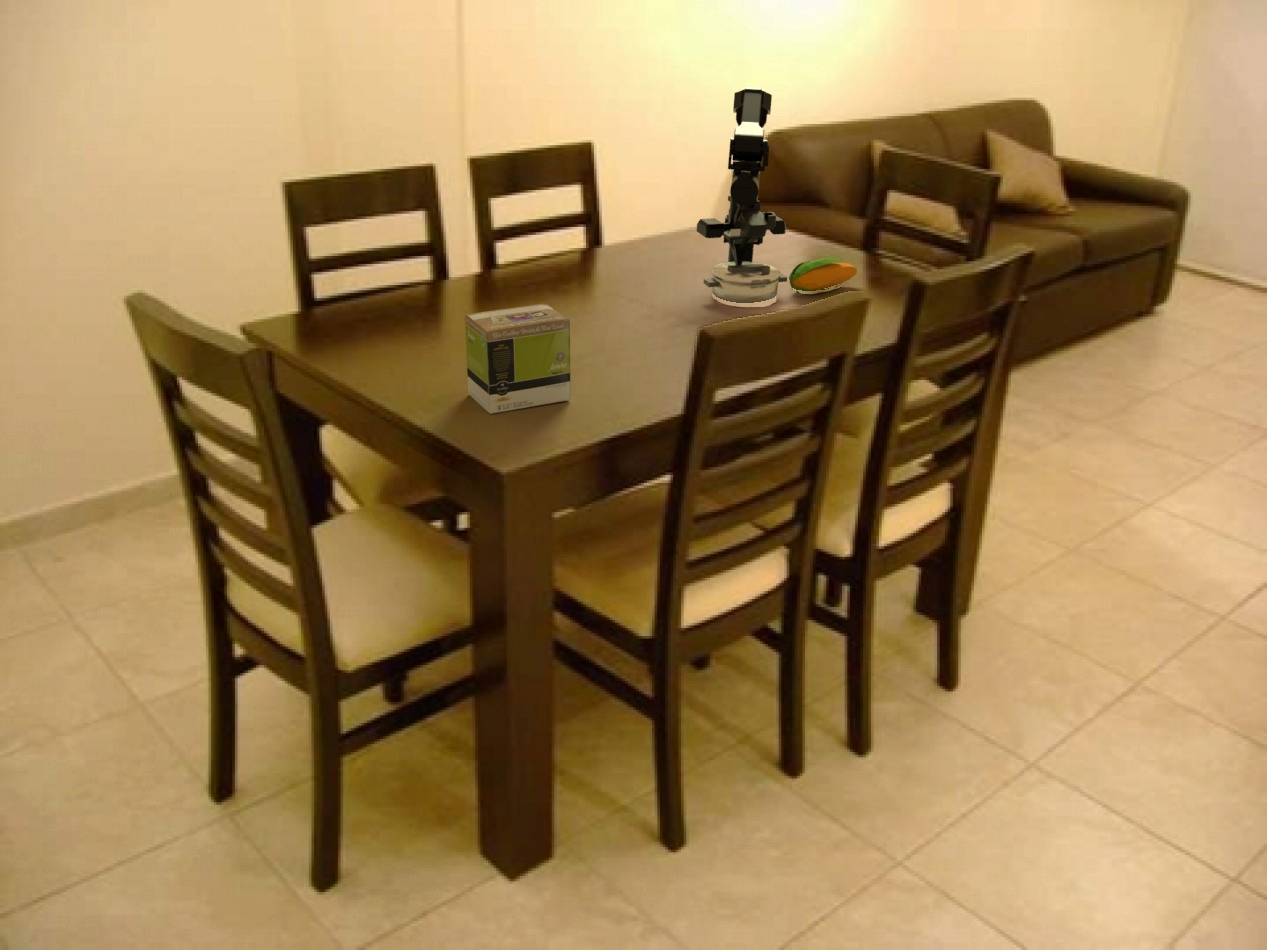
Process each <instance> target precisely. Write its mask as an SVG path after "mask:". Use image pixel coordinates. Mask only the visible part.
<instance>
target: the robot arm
mask: <svg viewBox="0 0 1267 950" xmlns="http://www.w3.org/2000/svg"><path fill="white" fill-rule="evenodd" d="M765 90H766V89H763V88H762V87H746V86H745V87H743V88H741V90H739V91H735V92H734V95H733V97H734V98H733V108H732V109H733V113H734V114H735V122H736V123H737V127H735V128H734V133H733V135H734V136H733V137H730V140H729V141H730V142H729V152H728V161H727V170H731V171H732V173H731V174H732V178H731V184H730V191H729V193H730V195H728V197H727V201H728V202H729V209H728V214H726V216H725V217H724V222H721V221H720V220H718V219H717V218H715V217H713V218H711V217H710V218H700V219H699V220H698V221H697V223H696V233H699V235H701V236H703V237H704V238H706V239H716V238H717V239H718V238H722V237H723V244H727V243H728V256H727V262H735V264H736V265H741V264H742V262H754V261H753V259H754V245H757V246H760V245H762V244H763V243H764V237H765V236H766V234H767V231H770V233H771V234H772V235H785V234H786V232H787V224H786V221H785V220H784V219H783V218H780V217H779V216H777V215H776V213H775V211H766V212H762V211H761V201H760V200H758V199H759V188H760V178H761V177H760V174H761V172H766V170H765V168H766V167H769V166H768V165H769V155H770V145H769V142H768V140H767V139H764V138H765V130H764V127H765V125H766V124H767V118H768V115H771V110H772V98H773V95H772V94H770V93H768V92H766V91H765Z"/></svg>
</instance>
